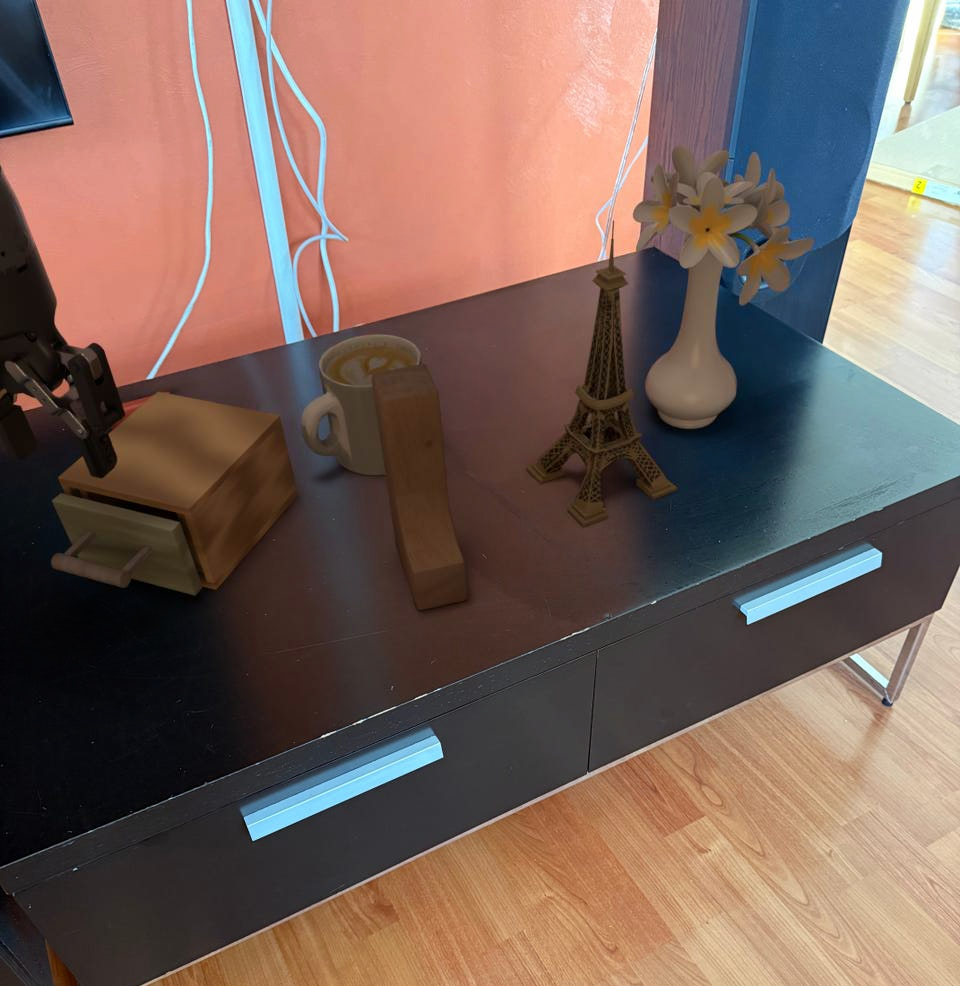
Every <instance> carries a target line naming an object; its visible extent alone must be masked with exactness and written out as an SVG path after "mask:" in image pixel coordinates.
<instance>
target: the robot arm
mask: <svg viewBox="0 0 960 986" xmlns="http://www.w3.org/2000/svg"><path fill="white" fill-rule="evenodd" d="M33 236H34V235H33V233H32V232H31V229H30V226H29V223H28V220H27V219H26V216H25V214H24V211H23V208H22V205H21V203H20V200H19V198H18V197H17V194H16V193H15V191H14V189H13V187H12V186H11V183H10V182H9V180H8V178H7V176H6V174H5V173H4V169H3V168H2V165H1V164H0V439H1V440H2V443H3V445H4V446H5V448H7V451H8V453H9V455H10V456H11V458H13V459H16V460H21V461H23V460H25V459H26V458H28V457H29V456H30V455H31V454H32V453H33V452H35V451H36V450H37V449H38V440H37V438H36V435H35V434H34V431H33V429H32V427H31V425H30V423H29V421H28V418H27V416H26V414H25V412H24V409H23V407H22V406H21V405H19V404H16V403H17V401H18V395H20V394H23V395H25V396H27V397H30V398H33V399H36V400H37V402H39V404H40V405H41V406H42V407H43V408H44V409H45V410H46V411H47V412H48V414H50V415H51V416H58V417H60V419H62V421H63V422H64V423H65V424H66V425H67V427H68V428H70V430H71V431H72V432H73V433H74V434H75V437H74V440H75V441H76V443H77V445H78V446H77V447H78V449H79V451H80V454H81V457H82V456H83V458H84V460H85V463H86V465H87V468H88V470H89V472H90V475H91V476H92V477H96V478H104V477H105V476H106V475H107V474H108V473H109V472H110V471H111V470H113V469H114V468H115V466H116V463H117V455H116V452H115V451H114V447H113V445H112V442H111V439H110V437H109V430H111V428H112V427H113V426H114V425H115V424H116V423H117V422H119V421H121V420H122V419H123V418H124V417H125V411H124V408H123V405H122V404H123V402H122V400H121V397H120V393H119V391H118V390H119V389H118V387H117V384H116V381H115V378H114V375H113V373H112V369H111V366H110V363H109V360H108V357H107V354H106V352H105V350H104V348H103V347H102V346H101V345H100V344H99V343H98V342H97V343H96V342H91V343H90V344H88V345H87V346H86V347H78V346H73V345H69V343H68V341H67V340H66V339H65V337H64V336H63V335H62V334H61V332H60V331H59V329H58V327H57V325H56V322H55V321H56V319H55V318H56V311H57V305H58V300H57V295H56V294H55V291H54V288H53V285H52V283H51V281H50V278H49V275H48V273H47V270H46V267H45V265H44V262H43V260H42V257H41V255H40V251H39V249H38V246H37V244H36V242H35V241H36V240H35V239H34V237H33ZM64 380H65V382H66V383H67V384H68V390H67V391H66V392H65V393H64V394H62V395H61V396H57V395H55V394H54V393H53V392H54V391H56V390H57V389H59V388H60V387H61V385H62V384H63V382H64ZM74 402H76V403H77V404H78V405H79V406H80V407H81V408H82V410H83V412H84V416H82V417H81V416H80V415H79V414H78V413H77V411H76V410H75V409H74V408H73V406H72V405H73V403H74ZM102 403H103V404H104V407H102Z"/></svg>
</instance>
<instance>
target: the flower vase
mask: <svg viewBox="0 0 960 986" xmlns="http://www.w3.org/2000/svg"><path fill="white" fill-rule="evenodd" d="M729 159H730V152H729V151H727V150H718V151H715V152H713V153H712V154H710V155H709V156H707V157H705V159H703V161H702V162H701V164H700V165H699V167H698V164H697V159H696V158H695V156H694V154H693V152H692V150H690V149H689V148H688V147H687V146H685V145H683V144H678V145H676V146H674V147H673V149H672V152H671V161H672V165H673V168H674V170H675V172H674V173H673V172H665V169H664V166H663V165H662V164H661V163H658V164H657V165H656V166H655V169H654V171H653V175H652V176H650V177H651V178H650V182H651V183H652V190H653V195H654V197H655V198H656V199H657V200H656V199H651V198H649V199H644V200H642V201H640V202H639V203H638V204H637V205H636V206H635V207H634V208H633V212H632V218H633V220H634V221H635V222H637V223H640V224H649V225H647V226H646V227H644V229H643V231H641V233H640V236H639V237H638V240H637V243H636V246H635V252H636V253H639V252H641V251H642V250H643V249H644V248H645V247H646V246H647V245H648V244H649V243H650V242H651V241H652V240H653V239H654V238H655V237H656V236H657V235H658V236H662V235H663V234H664V233H665V232H666V231H667V228H668V226H669V225H670V224H671V225H672V226H673V227H674V228H676V230H679V231H680V232H683V233H684V236H683V237H684V241H685V242H684V244H683V246H682V247H681V250H680V254H679V257H678V261H679V265H680V267H682V268H683V269H688V277H687V278H688V279H687V286H686V293H685V300H684V306H683V314H682V317H681V319H682V320H681V324H680V328H679V330H678V331H679V332H678V334H677V336H676V338H675V340H674V342H673V344H672V345H671V347H670V348H669V350H667V351H666V352H665V353H663V354H662V355H661V356H660V357H658V358H657V360H656V361H654V363H653V364H652V365H651V366H650V368H649V370H648V373H647V374H646V378H645V381H644V391H645V395H646V397H647V399H648V401H649V402H650V403H651V405H652V406H653V407H654V408H655V409H656V410H657V413H658V417H659V418H660V419H661V420H662V421H663V422H664V423H665V424H667V425H670V426H671V427H674V428H677V429H682V430H683V429H684V430H696V429H701V428H704V427H707V426H709V425H710V424H712V423H713V422H714V421H715V420H716V418H717V417H718V415H719V414H721V413H722V412H724V411H725V410H726V409H728V407H729V406H730V405H731V404H732V402H733V401H734V400H735V398H736V395H737V390H738V379H737V376H736V373H735V370H734V368H733V366H732V364H731V363H730V362H729V361H728V360H727V358H726V357H725V356H724V355H722V353H721V351H720V348H719V345H718V341H717V333H716V329H717V327H716V326H717V325H716V323H717V310H718V302H719V301H718V300H719V290H720V283H721V276H722V271H723V268H724V267H726V268H728V269H734V268H736V267H737V266H738V267H737V268H736V274H737V275H738V276H740V277H745V281H744V284H743V286H742V289H741V292H740V295H739V299H738V302H739V303H738V304H739V306H745V305H747V304H748V303H750V301H752V300H753V298H754V297H755V296H756V294H757V293H758V291H759V289H760V288H761V285H762V279H763V281H764V282H765V284H766V285H767V286H768V287H769V289H771V290H772V291H774V292H775V293H776V292H777V293H783V292H785V290H787V289H788V288H789V286H790V284H791V273H790V271H789V268H788V267H787V266H786V264H785V263H784V261H793V260H794V259H797V258H800V257H802V255H805V254H806V253H807V252H808V251H809V250H811V248H812V247H814V244H815V239H813V238H811V237H807V238H806V237H805V238H800V239H796V240H792V241H790V240H789V237H790V234H791V227H790V226H789V225H785V224H786V223H787V222H788V221H789V218H790V216H791V210H790V204H789V203H788V202H787V200H785V199H783V198H784V196H785V187H784V185H783V183H781V182H779V181H777V179H776V172H775V169H774V167H771V168H770V171H769V174H768V177H767V182H764V183H762V184H760V185H758V184H759V183H760V180H761V175H762V174H761V173H762V165H761V161H760V157H759V155H758V153H757V152H756V151H753V152H752V153H750V155H749V159H748V162H747V166H746V170H745V175H744V177H743V176H742V175H741V174H735V175H734V177H733V179H734V180H733V182H734V183H730V182H729V181H727V180H725V179H722V178H719V177H718V176H717V175H718V174H719V173H720V172H721V171H722V170H723V168H724V167H725V166H726V164H727V163H728V161H729ZM677 204H678V205H677ZM724 209H725V210H724ZM782 225H785V226H782ZM748 229H750V230H751V231H755V230H758V231H759V232H760V233H761V234H762V235H763V236H765V238H767V239H768V240H767V241H766V242H765V243H762V244H761V245H760V246H759V245H758V244H757V243H756V242H755V241H754V240H753V239H752V238H750V237H749V236H747V235H745V234H744V233H740V232H742V231H745V230H748ZM735 239H738V240H741V241H742V242H744V243H746V244H747V245H748V246H749V247H750V248H751V249H752V251H753V253H752V254H751V255H749V256H748V257H747V258H745V259H744V260H743V261H742V262H741V263H740V260H741V255H740V250H739V247H738V245H737V243H736V242H735ZM782 260H783V261H782ZM739 263H740V264H739Z"/></svg>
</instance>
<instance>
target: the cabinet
mask: <svg viewBox="0 0 960 986" xmlns="http://www.w3.org/2000/svg"><path fill="white" fill-rule="evenodd" d="M151 396H152V397H151V398H150V399H149V400H147V401H146V402H145V403H144V404H143V405H142V406H141V407H139V408H138V409H137V410H136V411H135V412H134V413H132V414H131V415H130V416H129V417H128V418H127V419H125V420H124V421H123V422H122V423H121V424H120V425H118V426H117V427H116V428H115V429H114V430H111V431H110V432H108V434H109V437H110V439H111V442H112V445H113V447H114V451H115V452H116V455H117V463H116V466H115V468H114V469H113V470H111V471H110V472H109V473H108V474H107V475H106V476H105V477H104V478H96V477H92V476H91V475H90V472H89V470H88V468H87V465H86V463H85V460H84V458H83V456H82V455H81V457H80V458H79V459H77V460H76V461H75V462H74V463H73V464H72V465H71V466H69V467H68V468H67V469H66V470H64V472H62V473H61V474H60V475H59V476H58V477H57V479H58V481H59V484H60V485H61V488H62V491H63V492H64V494H67V495H71V496H75V497H79V498H82V496H81V493H80V491H79V489H81V490H85V491H89V492H93V493H97V494H102V495H106V496H110V497H114V498H118V499H122V500H126V501H131V502H135V503H139V504H143V505H147V506H151V507H156V508H160V509H164V510H168V511H172V512H176V513H180V514H184V516H185V519H186V522H187V525H188V528H189V531H190V534H191V537H192V540H193V542H194V545H195V548H196V551H197V554H198V557H199V560H200V563H201V566H202V569H203V572H204V573H201V572H197V573H198V575H199V578H200V581H201V584H202V588H206V589H207V588H208V589H209V590H215V591H217V590H218V589H219V587H220V586H221V585H222V584H223V583H224V582H225V580H226V579H227V578H228V577H229V576H230V575H231V574H232V572H233V571H234V570H235V569H236V568H237V567H238V565H240V564H241V562H242V561H243V560H244V559H245V557H247V555H248V554H249V553H250V551H252V550H253V548H254V547H255V546H256V545H257V543H258V542H259V541H260V540H261V539H262V538H263V537H264V535H265V534H266V533H267V532H268V531H269V530H270V528H271V527H272V526H273V525H274V524H275V522H276V521H278V520H279V518H280V517H281V515H282V514H283V513H284V512H285V511H286V510H287V509H288V508H289V507H290V505H291V504H293V502H294V501H295V499H297V497H298V496H299V493H298V489H297V483H296V478H295V476H294V471H293V466H292V463H291V458H290V457H291V456H290V454H289V449H288V445H287V440H286V436H285V432H284V431H285V430H284V427H283V423H282V418H281V415H280V414H275V413H270V412H265V411H261V410H260V411H259V410H254V409H250V408H245V407H244V408H243V407H239V406H233V405H229V404H224V403H220V402H214V401H209V400H204V399H199V398H194V397H188V396H182V395H178V394H172V393H170V394H168V393H164V391H156V392H155V394H153V395H151Z"/></svg>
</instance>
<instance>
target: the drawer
mask: <svg viewBox="0 0 960 986" xmlns="http://www.w3.org/2000/svg"><path fill="white" fill-rule="evenodd" d="M79 491H80V493H81V496H82V498H79V497H75V496H71V495H67V494H65V493H62V492H60V493H59V494H58V495H57V496H56V497H54V498H53V499H52V500H51V503H52V505H53V507H54V509H55V512H56V513H57V515H58V518H59V520H60V523H61V524H62V526H63V528H64V531H65V532H66V534H67V535H66V536H67V537H68V539H69V541H70V544H71V546H70V547H69V548H68V549H66V551H64V553H60V552H57V553H55V554H53V556H52V557H51V561H50V565H51V567H52V569H53V570H56V571H60V572H63V573H67V574H71V575H74V576H79V577H82V578H85V579H90V580H93V581H96V582H100V583H103V584H107V585H111V586H115V587H118V588H122V589H125V588H127V587H128V586H129V584H130V583H131V579H132V580H135V581H139V582H142V583H145V584H146V583H147V584H150V585H154V586H158V587H161V588H164V589H170V590H172V591H176V592H179V593H184V594H187V595H191V596H193V597H194V596H197V594H198V593H199V592H200V591H201V590H202V589H203V586H202V584H201V581H200V578H199V575H198V573H197V572H201V573H204V572H203V569H202V566H201V563H200V560H199V557H198V554H197V551H196V548H195V545H194V542H193V540H192V537H191V534H190V531H189V528H188V525H187V522H186V519H185V516H184V514H180V513H176V512H172V511H168V510H164V509H160V508H156V507H151V506H147V505H143V504H139V503H135V502H131V501H126V500H122V499H118V498H114V497H110V496H106V495H102V494H97V493H93V492H89V491H85V490H81V489H79Z"/></svg>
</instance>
